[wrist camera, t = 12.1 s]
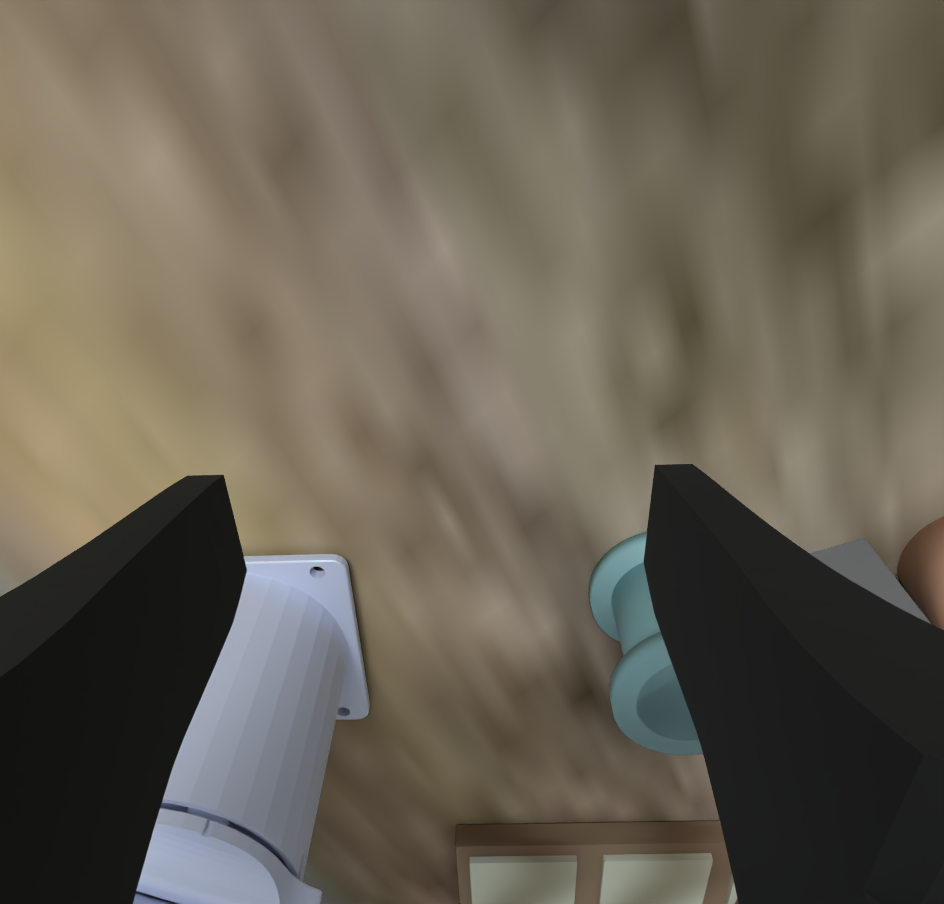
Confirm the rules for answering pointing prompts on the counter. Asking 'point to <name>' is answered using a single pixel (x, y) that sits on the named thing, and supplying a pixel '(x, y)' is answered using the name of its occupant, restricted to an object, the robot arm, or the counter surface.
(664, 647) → the teal spool
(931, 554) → the peach round blob
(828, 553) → the charcoal cube
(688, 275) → the counter surface
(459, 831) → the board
